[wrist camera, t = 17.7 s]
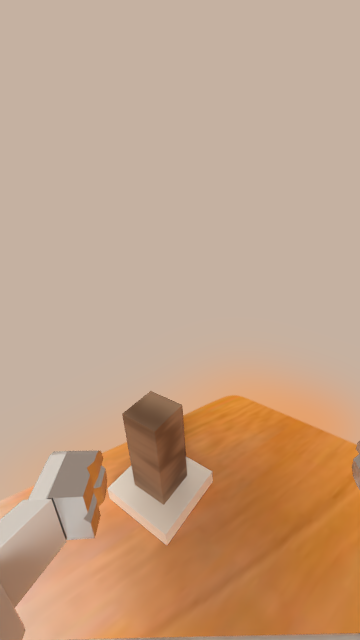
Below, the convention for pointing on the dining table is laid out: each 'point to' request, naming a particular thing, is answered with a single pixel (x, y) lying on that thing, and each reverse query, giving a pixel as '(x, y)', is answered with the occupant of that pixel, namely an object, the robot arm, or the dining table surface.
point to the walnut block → (156, 445)
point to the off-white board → (154, 513)
